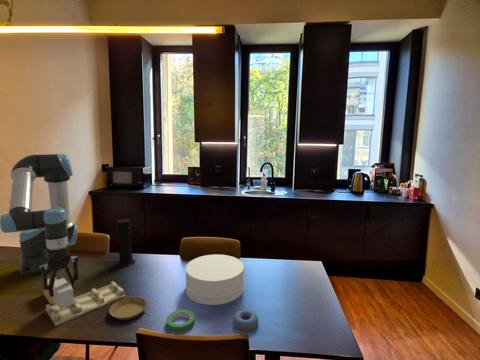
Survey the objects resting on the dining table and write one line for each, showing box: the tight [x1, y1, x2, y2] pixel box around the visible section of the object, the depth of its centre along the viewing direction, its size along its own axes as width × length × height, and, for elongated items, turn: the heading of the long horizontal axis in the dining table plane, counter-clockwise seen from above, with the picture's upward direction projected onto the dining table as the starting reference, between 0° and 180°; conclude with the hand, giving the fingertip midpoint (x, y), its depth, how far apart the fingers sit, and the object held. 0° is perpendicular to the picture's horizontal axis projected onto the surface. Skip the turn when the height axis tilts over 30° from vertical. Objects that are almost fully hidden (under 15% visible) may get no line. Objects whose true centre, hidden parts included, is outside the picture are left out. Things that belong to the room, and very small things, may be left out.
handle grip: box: [116, 218, 136, 268], centre depth 163 cm, size 10×26×10 cm
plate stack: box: [185, 254, 245, 306], centre depth 137 cm, size 28×28×12 cm
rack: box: [45, 280, 127, 327], centre depth 125 cm, size 15×28×3 cm, turn 136°
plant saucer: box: [108, 296, 148, 321], centre depth 119 cm, size 15×15×3 cm
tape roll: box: [165, 309, 196, 334], centre depth 112 cm, size 11×11×3 cm
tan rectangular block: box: [42, 277, 58, 306], centre depth 129 cm, size 12×5×7 cm, turn 47°
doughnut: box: [232, 309, 259, 332], centre depth 112 cm, size 10×10×5 cm
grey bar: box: [52, 277, 74, 309], centre depth 117 cm, size 12×5×7 cm, turn 46°
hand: (62, 299), depth 117 cm, fingers closed on grey bar, 5 cm apart
